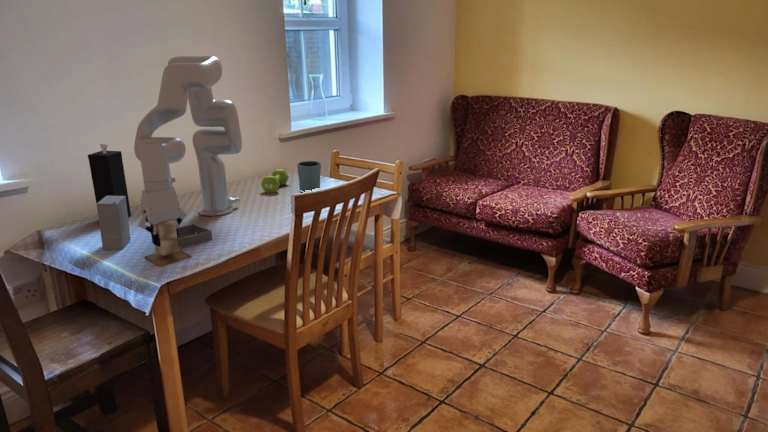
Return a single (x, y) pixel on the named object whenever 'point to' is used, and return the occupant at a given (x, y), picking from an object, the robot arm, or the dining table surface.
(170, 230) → the beech block
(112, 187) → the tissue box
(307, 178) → the grey cup
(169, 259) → the walnut board
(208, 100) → the robot arm
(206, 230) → the bin
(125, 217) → the skincare box
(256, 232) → the dining table surface
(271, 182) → the dumbbell
